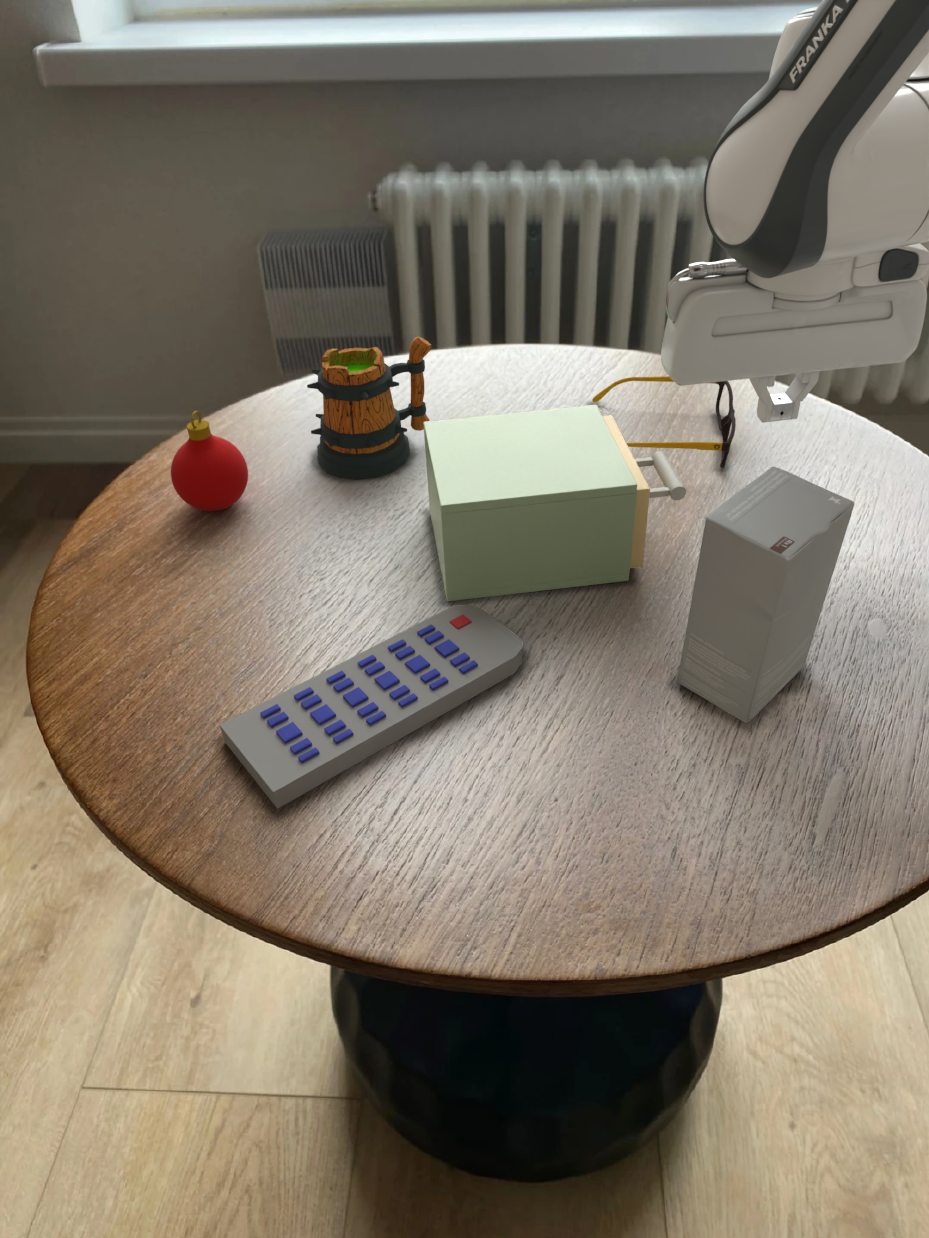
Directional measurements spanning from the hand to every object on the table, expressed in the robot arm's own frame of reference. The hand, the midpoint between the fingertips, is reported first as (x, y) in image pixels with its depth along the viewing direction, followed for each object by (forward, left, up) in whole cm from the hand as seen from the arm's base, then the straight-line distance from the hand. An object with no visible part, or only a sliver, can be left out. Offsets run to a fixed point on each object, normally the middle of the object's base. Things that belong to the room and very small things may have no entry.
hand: (776, 418), depth 81 cm
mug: (+34, -19, -11) cm, 40 cm away
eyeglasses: (+5, -16, -11) cm, 20 cm away
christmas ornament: (+50, -12, -11) cm, 52 cm away
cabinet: (+22, 0, -10) cm, 24 cm away
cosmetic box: (+9, +20, -11) cm, 24 cm away
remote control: (+36, +18, -11) cm, 41 cm away
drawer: (+18, 0, -9) cm, 20 cm away
